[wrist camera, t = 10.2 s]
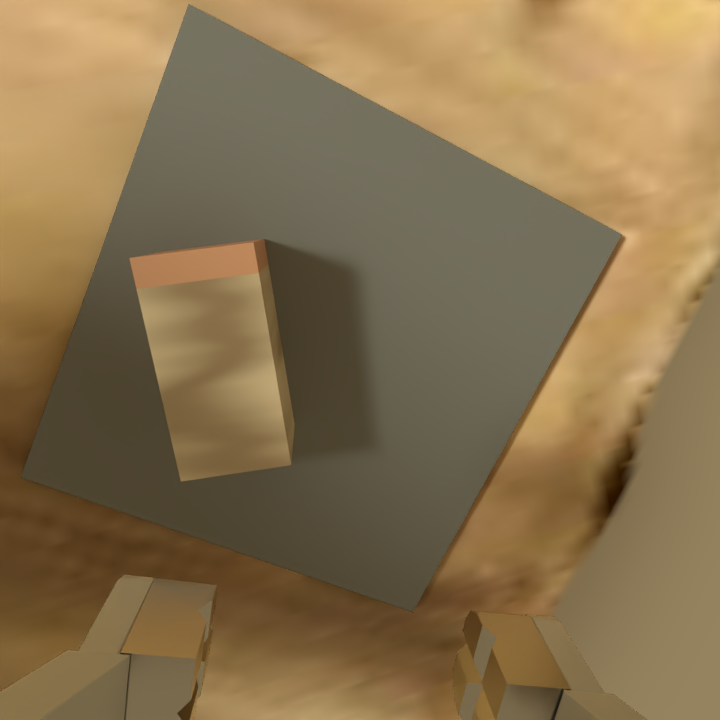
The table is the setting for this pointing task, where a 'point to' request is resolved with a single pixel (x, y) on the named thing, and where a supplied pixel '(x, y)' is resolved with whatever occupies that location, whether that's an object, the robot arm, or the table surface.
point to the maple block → (217, 357)
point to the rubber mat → (323, 318)
